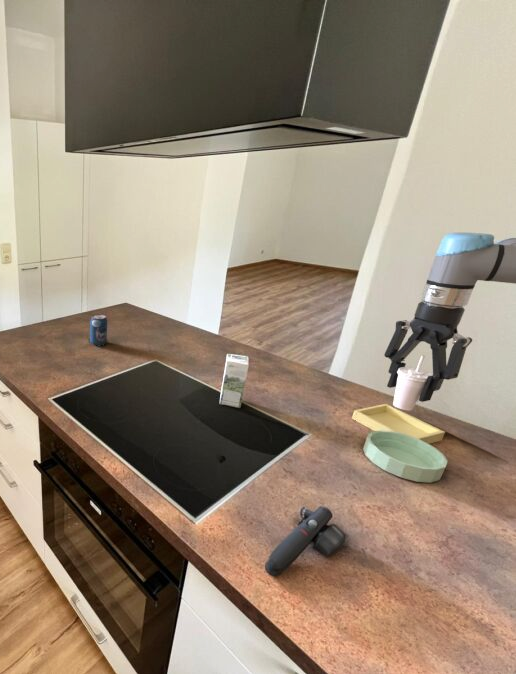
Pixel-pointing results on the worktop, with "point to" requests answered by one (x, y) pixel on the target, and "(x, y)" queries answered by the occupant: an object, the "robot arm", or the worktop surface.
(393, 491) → the worktop surface
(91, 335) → the soda can
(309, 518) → the can opener
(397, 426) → the tray
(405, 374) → the smoothie
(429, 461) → the bowl
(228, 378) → the syrup box
